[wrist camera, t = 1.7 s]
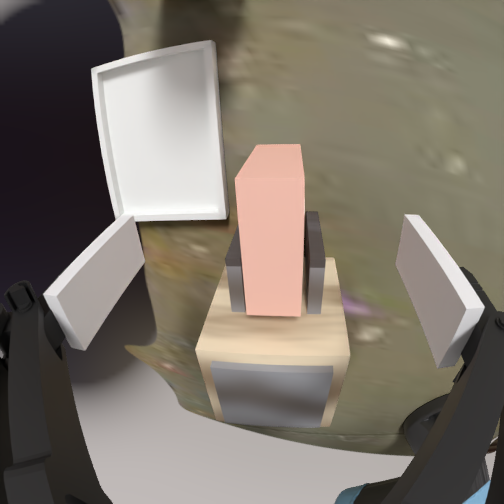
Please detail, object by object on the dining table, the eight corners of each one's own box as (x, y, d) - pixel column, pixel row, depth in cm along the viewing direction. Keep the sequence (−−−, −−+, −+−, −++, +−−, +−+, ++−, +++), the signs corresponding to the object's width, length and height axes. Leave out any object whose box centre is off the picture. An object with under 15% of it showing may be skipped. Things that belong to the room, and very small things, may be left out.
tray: (229, 212, 27) (226, 219, 26) (123, 215, 29) (116, 222, 27) (215, 42, 20) (211, 39, 18) (100, 68, 21) (91, 68, 20)
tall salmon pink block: (300, 242, 28) (301, 316, 19) (261, 242, 28) (245, 314, 20) (300, 144, 23) (305, 177, 15) (256, 144, 24) (233, 178, 15)
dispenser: (325, 333, 33) (329, 431, 22) (237, 330, 34) (215, 426, 23) (337, 212, 26) (364, 306, 15) (224, 211, 27) (177, 301, 16)
